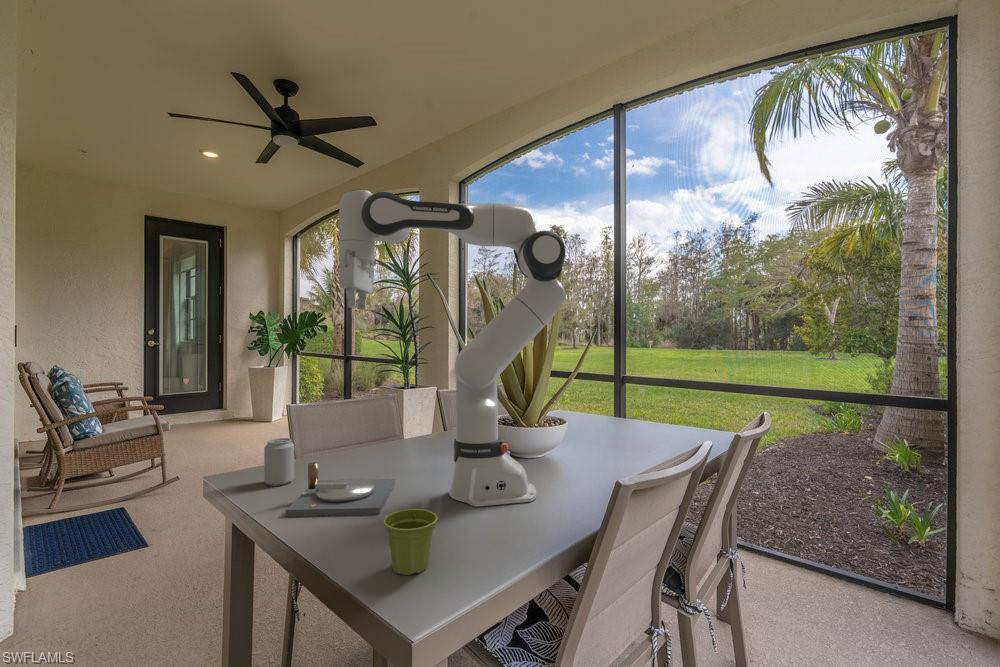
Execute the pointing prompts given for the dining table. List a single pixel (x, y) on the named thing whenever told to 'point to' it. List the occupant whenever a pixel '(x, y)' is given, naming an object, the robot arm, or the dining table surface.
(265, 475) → the can
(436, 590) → the dining table surface
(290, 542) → the dining table surface
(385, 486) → the dial plate
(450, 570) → the dining table surface
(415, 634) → the dining table surface
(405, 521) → the plant pot
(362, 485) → the dial
